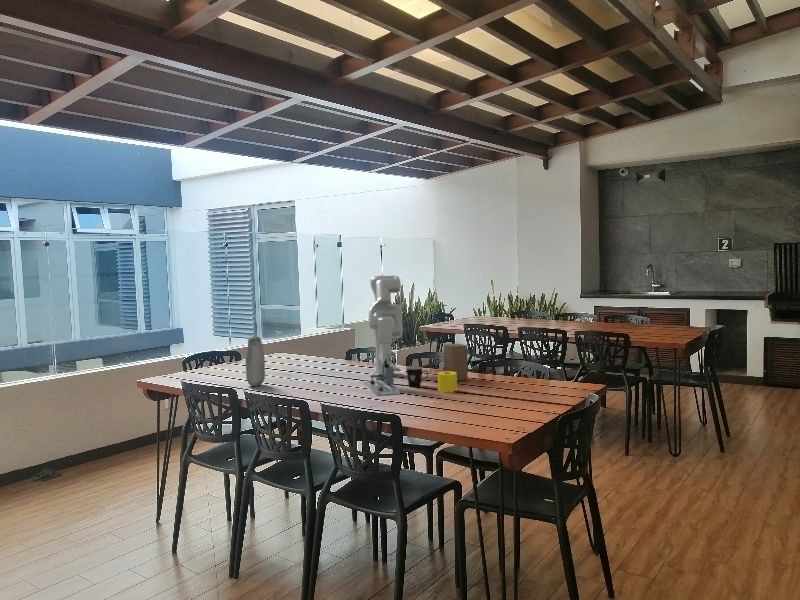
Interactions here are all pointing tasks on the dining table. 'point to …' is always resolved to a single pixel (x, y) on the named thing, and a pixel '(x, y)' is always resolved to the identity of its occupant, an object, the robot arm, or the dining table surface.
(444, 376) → the tape roll
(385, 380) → the sliding jaw
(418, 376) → the coffee mug
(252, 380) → the grey vase
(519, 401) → the dining table surface
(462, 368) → the wooden block
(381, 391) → the gauge board
